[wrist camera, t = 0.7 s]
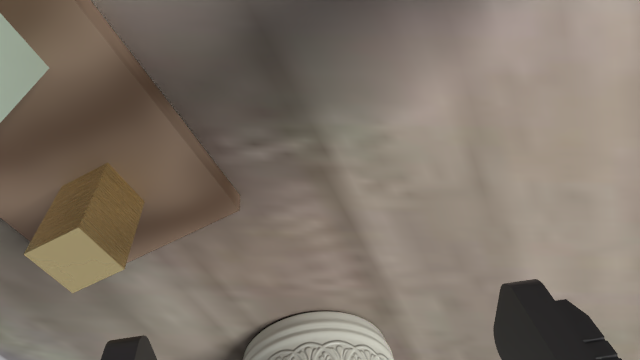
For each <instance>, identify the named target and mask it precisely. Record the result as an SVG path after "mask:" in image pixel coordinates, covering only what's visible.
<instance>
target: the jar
mask: <svg viewBox="0 0 640 360" xmlns="http://www.w3.org/2000/svg"><path fill="white" fill-rule="evenodd" d="M243 360H394V359H393V354H392V351H391V349H390V347H389V345H388V344H387V343H386V341H385V338H384V336H383V334H382V333H381V332H380V330H379V329H378V328H377V327H376V326H374V325H373V324H372V323H370V322H369V321H367V320H365V319H363V318H360V317H358V316H355V315H351V314H347V313H341V312H330V311H321V312H310V313H303V314H299V315H295V316H292V317H289V318H286V319H283V320H281V321H278V322H276V323H274V324H272V325H270V326H269V327H267V328H266V329H264V330H263V331H261V332H260V333H259V334H258V335H257V336H256V337H255V338H254V339H253V340H252V341H251V342H250V344H249V345H248V347H247V348H246V351H245V353H244V357H243Z"/></svg>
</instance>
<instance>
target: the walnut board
mask: <svg viewBox="0 0 640 360" xmlns="http://www.w3.org/2000/svg"><path fill="white" fill-rule="evenodd" d="M0 13H1V14H2V15H3V17H4V18H5V19H6V20H7V21H8V22H9V23H10V24H11V26H12V27H13V28H14V29H15V30H16V31H17V32H18V33H19V34H20V36H21V37H22V38H23V39H24V40H25V41H26V42H27V43H28V45H29V46H30V47H31V48H32V49H33V50H34V51H35V52H36V53H37V55H38V56H39V57H40V58H41V59H42V60H43V61H44V62H45V64H46V65H47V66H48V67H49V69H48V70H47V71H46V73H45V74H44V75H43V76H42V77H41V78H40V79H39V80H38V81H37V83H36V84H35V85H34V86H33V87H32V88H31V89H30V90H29V92H28V93H27V94H26V95H25V96H24V97H23V98H22V99H21V100H20V102H19V103H18V104H17V105H16V106H15V107H14V108H13V109H12V110H11V112H10V113H9V114H8V115H7V116H6V117H5V118H4V119H3V120H2V122H1V123H0V217H1V218H2V219H3V220H4V221H5V222H7V223H8V224H9V225H10V226H11V227H13V228H14V229H15V230H16V231H18V232H19V233H20V234H21V235H22V236H24V237H25V238H26V239H27V240H29V241H30V242H31V240H32V238H33V237H34V235H35V233H36V231H37V229H38V228H39V226H40V224H41V222H42V221H43V219H44V217H45V215H46V213H47V212H48V210H49V208H50V206H51V204H52V203H53V201H54V199H55V197H56V195H57V194H58V192H59V190H60V188H61V186H63V185H65V184H67V183H69V182H71V181H73V180H75V179H77V178H79V177H81V176H83V175H85V174H87V173H88V172H90V171H92V170H94V169H96V168H98V167H100V166H102V165H104V164H106V163H109V164H110V165H111V166H112V167H113V169H114V170H115V171H116V172H117V173H118V174H119V175H120V176H121V177H122V178H123V179H124V180H125V181H126V182H127V183H128V185H129V186H130V187H131V188H132V189H133V190H134V191H135V192H136V193H137V194H138V195H139V196H140V197H141V198H142V199H143V201H144V202H145V203H144V206H143V209H142V213H141V216H140V219H139V223H138V226H137V229H136V233H135V236H134V239H133V243H132V246H131V249H130V252H129V256H128V259H127V262H126V263H128V262H130V261H132V260H134V259H137V258H139V257H141V256H143V255H145V254H147V253H149V252H152V251H154V250H156V249H158V248H160V247H162V246H164V245H167V244H169V243H171V242H173V241H175V240H177V239H179V238H182V237H184V236H186V235H188V234H190V233H192V232H194V231H197V230H199V229H201V228H203V227H205V226H207V225H209V224H212V223H214V222H216V221H218V220H220V219H222V218H224V217H227V216H229V215H231V214H233V213H235V212H237V211H239V210H240V195H239V194H238V192H237V191H236V190H235V188H234V187H233V186H232V184H231V183H230V182H229V181H228V179H227V178H226V177H225V175H224V174H223V173H222V171H221V170H220V169H219V167H218V166H217V165H216V164H215V162H214V161H213V160H212V158H211V157H210V156H209V154H208V153H207V152H206V150H205V149H204V148H203V147H202V145H201V144H200V143H199V141H198V140H197V139H196V137H195V136H194V135H193V134H192V132H191V131H190V130H189V128H188V127H187V126H186V124H185V123H184V122H183V120H182V119H181V118H180V117H179V115H178V114H177V113H176V111H175V110H174V109H173V107H172V106H171V105H170V103H169V102H168V101H167V100H166V98H165V97H164V96H163V94H162V93H161V92H160V90H159V89H158V88H157V87H156V85H155V84H154V83H153V81H152V80H151V79H150V77H149V76H148V75H147V73H146V72H145V71H144V70H143V68H142V67H141V66H140V64H139V63H138V62H137V60H136V59H135V58H134V56H133V55H132V54H131V53H130V51H129V50H128V49H127V47H126V46H125V45H124V43H123V42H122V41H121V40H120V38H119V37H118V36H117V34H116V33H115V32H114V30H113V29H112V28H111V26H110V25H109V24H108V23H107V21H106V20H105V19H104V17H103V16H102V15H101V13H100V12H99V11H98V9H97V8H96V7H95V6H94V4H93V3H92V2H91V0H0Z"/></svg>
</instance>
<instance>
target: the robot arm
mask: <svg viewBox="0 0 640 360" xmlns="http://www.w3.org/2000/svg"><path fill="white" fill-rule="evenodd" d="M494 339H495V344H496V347H497V350H498V353H499V355H500V357H501V359H502V360H622V359H621V358H618V356H617V353H616V352H615V350H614V349H613V348H612V346H611V345H610V344H609V342H608V341H605V339H604V336H603V334H602V333H601V332H600V330H599V329H598V328H597V327H596V325H595V324H594V323H593V321H592V320H591V319H590V317H589V316H588V315H587V314H585V313H584V312H582V311H581V310H580V309H578V308H577V307H576V306H574V305H573V304H572V303H570V302H569V301H567V300H566V299H564V300H558V301H555V300H554V299H553V297H552V296H551V295H550V293H549V292H548V290H547V289H546V288H545V286H544V285H543V284H542V283H541V282H540V281H539V280H537V279H533V280H526V281H519V282H513V283H506V284H503V285H502V286H501V289H500V294H499V300H498V305H497V311H496V317H495V322H494ZM101 360H157V358H156V356H155V354H154V351H153V349H152V346H151V344H150V342H149V340H148V338H147V337H146V336H138V337H131V338H124V339H117V340H111V341H109V342H108V343H107V344H106V346H105V349H104V352H103V355H102V358H101Z"/></svg>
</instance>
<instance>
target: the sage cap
mask: <svg viewBox="0 0 640 360" xmlns="http://www.w3.org/2000/svg"><path fill="white" fill-rule="evenodd" d="M48 69H49V67H48V66H47V65H46V64H45V62H44V61H43V60H42V59H41V58H40V57H39V56H38V55H37V53H36V52H35V51H34V50H33V49H32V48H31V47H30V46H29V45H28V43H27V42H26V41H25V40H24V39H23V38H22V37H21V36H20V34H19V33H18V32H17V31H16V30H15V29H14V28H13V27H12V26H11V24H10V23H9V22H8V21H7V20H6V19H5V18H4V17H3V15H2V14H1V13H0V123H1V122H2V120H3V119H4V118H5V117H6V116H7V115H8V114H9V113H10V112H11V110H12V109H13V108H14V107H15V106H16V105H17V104H18V103H19V102H20V100H21V99H22V98H23V97H24V96H25V95H26V94H27V93H28V92H29V90H30V89H31V88H32V87H33V86H34V85H35V84H36V83H37V81H38V80H39V79H40V78H41V77H42V76H43V75H44V74H45V73H46V71H47V70H48Z"/></svg>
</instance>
